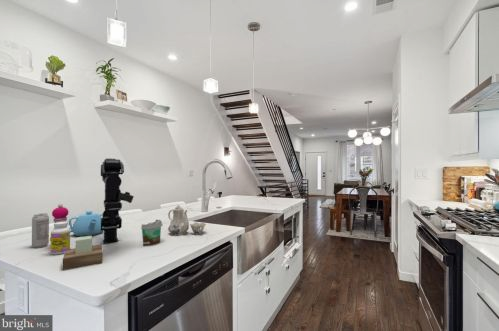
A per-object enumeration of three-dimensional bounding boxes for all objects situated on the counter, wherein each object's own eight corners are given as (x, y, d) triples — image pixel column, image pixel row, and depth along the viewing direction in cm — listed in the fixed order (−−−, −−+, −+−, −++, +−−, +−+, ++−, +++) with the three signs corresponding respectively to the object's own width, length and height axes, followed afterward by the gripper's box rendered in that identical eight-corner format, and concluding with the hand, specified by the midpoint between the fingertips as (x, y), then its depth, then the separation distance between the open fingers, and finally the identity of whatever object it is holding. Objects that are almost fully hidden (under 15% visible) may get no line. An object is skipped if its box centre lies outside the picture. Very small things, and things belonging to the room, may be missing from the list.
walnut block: (66, 259, 95) (66, 249, 96) (101, 254, 102) (101, 244, 102) (62, 270, 85) (62, 258, 85) (102, 263, 92) (102, 252, 92)
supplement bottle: (48, 256, 100) (48, 225, 100) (52, 251, 105) (52, 222, 106) (68, 253, 103) (68, 223, 103) (71, 249, 108) (71, 220, 109)
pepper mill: (53, 251, 106) (54, 205, 106) (47, 248, 110) (47, 204, 110) (72, 246, 112) (73, 203, 113) (65, 244, 116) (66, 202, 116)
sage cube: (76, 250, 94) (76, 237, 95) (91, 248, 97) (91, 235, 97) (75, 254, 90) (75, 240, 90) (91, 251, 93) (91, 238, 93)
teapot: (105, 228, 147) (105, 207, 147) (114, 234, 132) (114, 211, 133) (65, 234, 134) (65, 211, 134) (69, 242, 119) (70, 216, 119)
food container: (153, 247, 110) (153, 225, 111) (141, 246, 112) (141, 224, 112) (167, 239, 122) (167, 219, 123) (156, 239, 124) (156, 219, 124)
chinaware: (210, 235, 136) (212, 205, 137) (188, 239, 122) (191, 206, 123) (177, 229, 151) (179, 202, 153) (153, 232, 137) (156, 202, 139)
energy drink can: (45, 243, 117) (45, 212, 117) (51, 245, 114) (51, 213, 114) (29, 247, 112) (29, 214, 112) (34, 249, 109) (35, 215, 109)
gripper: (135, 187, 104) (134, 224, 104) (129, 185, 120) (129, 217, 120) (104, 189, 98) (104, 227, 98) (103, 186, 114) (103, 219, 114)
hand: (112, 222), depth 108 cm, fingers open, 9 cm apart
